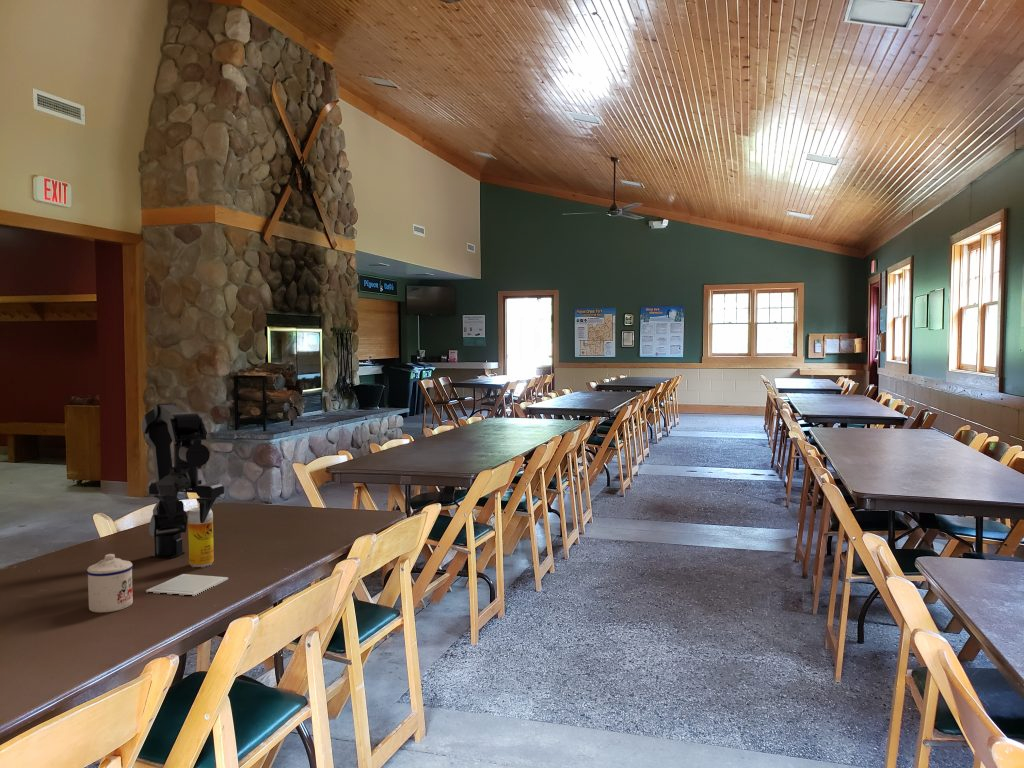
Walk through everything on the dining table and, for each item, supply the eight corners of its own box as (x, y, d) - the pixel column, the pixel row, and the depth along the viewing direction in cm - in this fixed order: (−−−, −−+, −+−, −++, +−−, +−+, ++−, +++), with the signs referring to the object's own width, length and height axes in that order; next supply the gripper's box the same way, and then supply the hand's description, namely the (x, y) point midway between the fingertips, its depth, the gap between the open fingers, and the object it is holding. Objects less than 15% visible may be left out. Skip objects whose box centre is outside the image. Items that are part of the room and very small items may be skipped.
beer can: (204, 568, 191) (203, 512, 190) (184, 567, 192) (182, 511, 192) (218, 562, 197) (217, 507, 196) (198, 561, 198) (197, 506, 197)
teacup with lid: (125, 612, 159) (124, 559, 159) (80, 614, 158) (79, 561, 157) (143, 594, 171) (142, 545, 171) (101, 596, 169) (100, 547, 169)
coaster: (146, 592, 172) (146, 589, 172) (182, 575, 185) (182, 573, 185) (194, 596, 169) (194, 593, 169) (228, 579, 182) (228, 576, 182)
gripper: (132, 465, 183) (133, 526, 183) (196, 468, 178) (197, 531, 179) (163, 458, 193) (164, 516, 194) (224, 461, 189) (225, 521, 190)
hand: (187, 521), depth 189 cm, fingers open, 9 cm apart
